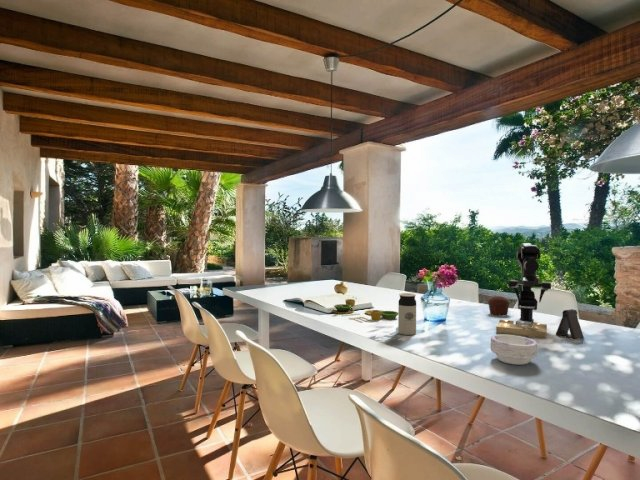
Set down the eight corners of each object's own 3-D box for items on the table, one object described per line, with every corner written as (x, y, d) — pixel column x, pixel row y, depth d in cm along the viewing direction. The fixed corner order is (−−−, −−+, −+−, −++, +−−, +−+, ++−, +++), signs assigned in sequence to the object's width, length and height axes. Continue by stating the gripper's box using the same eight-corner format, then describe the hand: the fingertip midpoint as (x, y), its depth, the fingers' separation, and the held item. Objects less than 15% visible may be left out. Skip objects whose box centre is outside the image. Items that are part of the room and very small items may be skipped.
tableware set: (324, 310, 245) (324, 299, 245) (363, 306, 257) (363, 296, 257) (360, 324, 208) (360, 312, 208) (404, 319, 220) (404, 307, 219)
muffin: (512, 314, 233) (512, 296, 232) (506, 317, 224) (506, 298, 224) (491, 311, 240) (491, 294, 240) (484, 314, 232) (484, 296, 232)
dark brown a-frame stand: (555, 335, 185) (555, 308, 185) (563, 333, 188) (564, 307, 187) (575, 339, 177) (575, 312, 177) (583, 338, 180) (584, 311, 179)
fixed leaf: (500, 326, 201) (500, 318, 200) (546, 332, 190) (546, 323, 190) (496, 332, 189) (496, 324, 188) (545, 338, 178) (545, 329, 178)
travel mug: (398, 330, 192) (398, 292, 192) (415, 331, 191) (416, 293, 190) (398, 334, 184) (398, 295, 184) (416, 335, 183) (416, 295, 182)
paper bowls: (547, 365, 143) (547, 343, 142) (511, 369, 138) (511, 346, 138) (514, 353, 157) (515, 332, 157) (481, 356, 153) (481, 335, 153)
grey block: (517, 326, 203) (517, 318, 203) (530, 327, 200) (531, 319, 200) (515, 330, 194) (515, 321, 194) (529, 331, 191) (529, 323, 191)
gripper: (507, 270, 200) (506, 302, 201) (550, 272, 191) (550, 306, 191) (509, 269, 210) (509, 299, 210) (551, 270, 200) (551, 302, 201)
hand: (529, 301), depth 203 cm, fingers open, 9 cm apart
